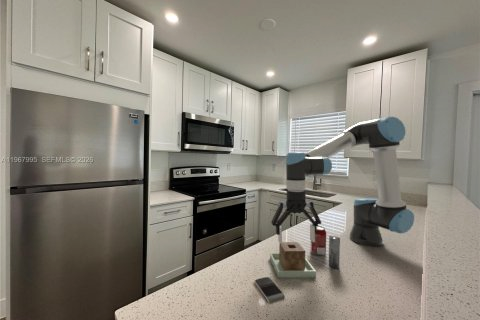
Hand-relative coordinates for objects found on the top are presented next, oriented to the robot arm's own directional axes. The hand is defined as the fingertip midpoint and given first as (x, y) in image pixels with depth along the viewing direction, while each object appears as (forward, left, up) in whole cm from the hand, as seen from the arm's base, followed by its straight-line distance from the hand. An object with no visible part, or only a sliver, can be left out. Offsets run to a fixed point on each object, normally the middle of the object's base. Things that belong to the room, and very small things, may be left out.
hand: (296, 241), depth 80 cm
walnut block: (+2, +1, -10) cm, 10 cm away
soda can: (-15, -11, -10) cm, 21 cm away
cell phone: (+14, +14, -11) cm, 23 cm away
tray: (+2, +1, -10) cm, 10 cm away
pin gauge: (-16, +1, -10) cm, 19 cm away
